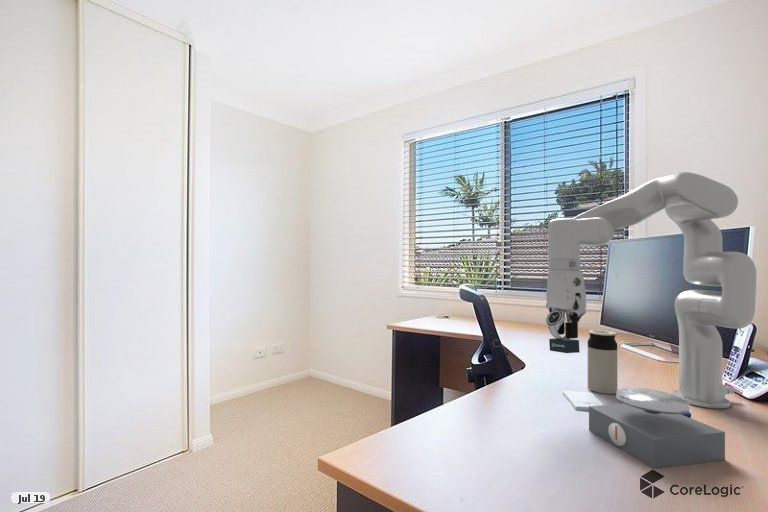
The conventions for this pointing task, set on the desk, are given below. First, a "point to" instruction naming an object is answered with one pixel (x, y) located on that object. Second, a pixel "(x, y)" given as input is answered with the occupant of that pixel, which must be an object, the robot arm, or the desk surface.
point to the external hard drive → (581, 399)
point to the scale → (657, 435)
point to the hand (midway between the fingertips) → (564, 335)
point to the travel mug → (602, 361)
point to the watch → (558, 342)
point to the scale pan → (653, 401)
